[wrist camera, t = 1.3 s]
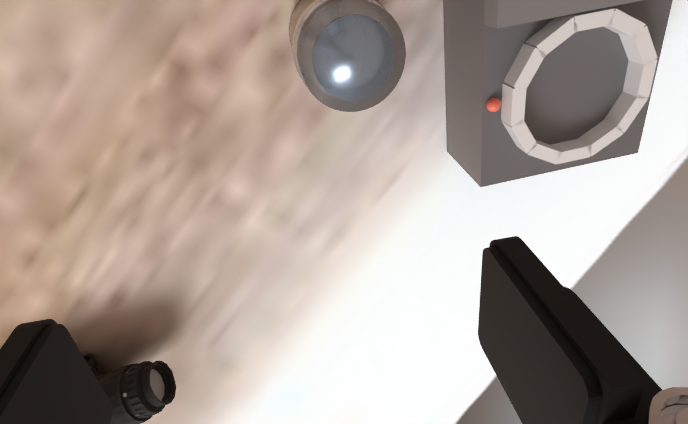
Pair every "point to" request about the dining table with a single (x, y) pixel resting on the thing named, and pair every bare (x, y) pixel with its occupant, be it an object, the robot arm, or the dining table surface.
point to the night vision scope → (136, 390)
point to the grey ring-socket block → (547, 82)
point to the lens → (347, 51)
